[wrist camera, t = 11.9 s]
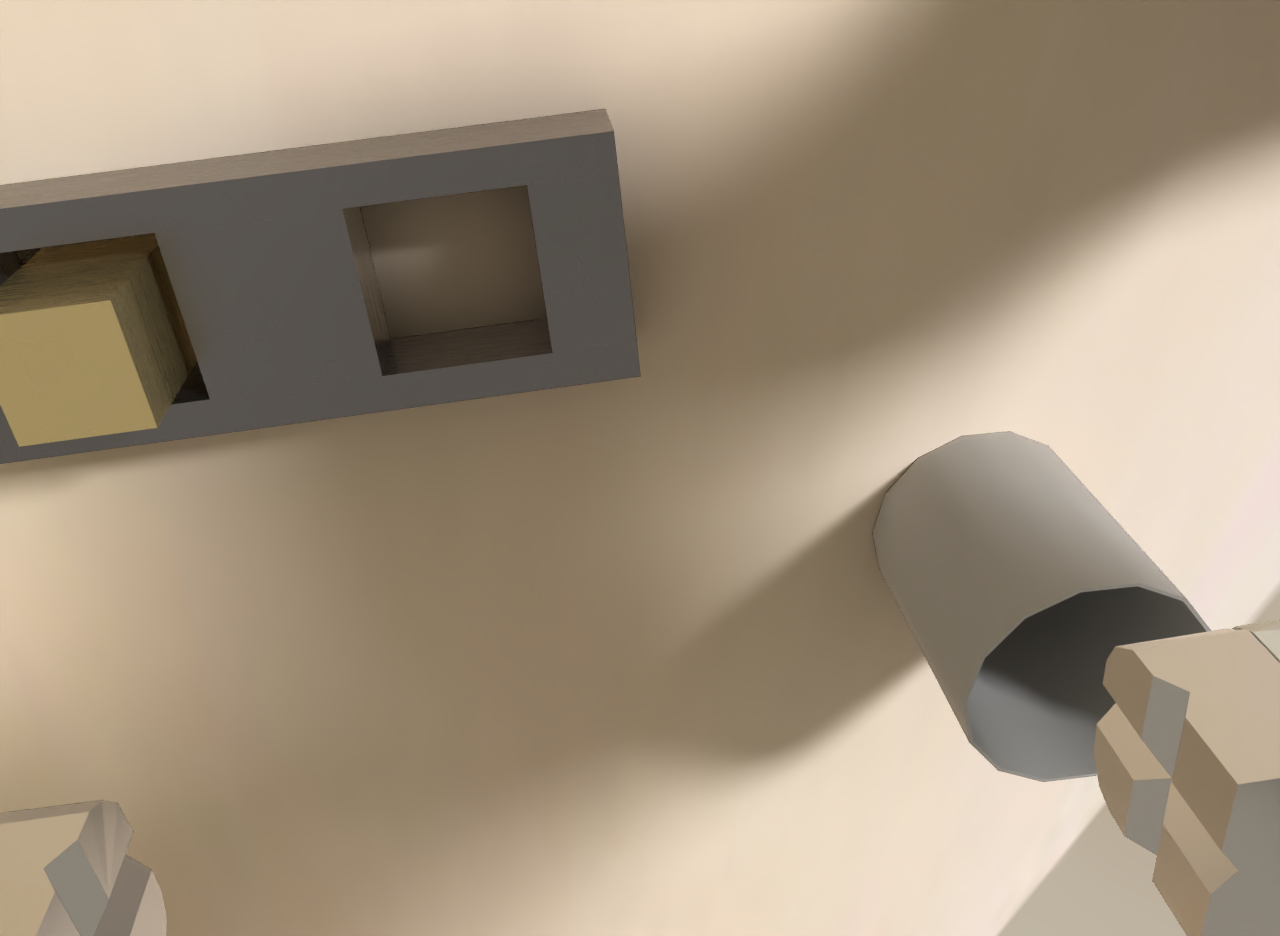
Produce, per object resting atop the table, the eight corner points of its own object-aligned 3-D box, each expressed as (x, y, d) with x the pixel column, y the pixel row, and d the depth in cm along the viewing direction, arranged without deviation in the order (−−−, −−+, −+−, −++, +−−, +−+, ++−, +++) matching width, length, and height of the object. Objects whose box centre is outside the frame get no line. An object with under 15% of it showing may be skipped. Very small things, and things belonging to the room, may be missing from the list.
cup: (1114, 469, 44) (1265, 624, 35) (1005, 625, 47) (1118, 801, 39) (938, 405, 42) (1053, 554, 33) (837, 574, 45) (916, 749, 36)
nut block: (168, 232, 35) (110, 299, 30) (205, 345, 37) (157, 427, 32) (42, 248, 35) (-38, 319, 30) (86, 361, 37) (19, 446, 32)
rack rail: (605, 108, 35) (613, 130, 32) (631, 340, 39) (640, 376, 36) (-102, 197, 34) (-152, 228, 31) (0, 425, 38) (-37, 468, 35)
